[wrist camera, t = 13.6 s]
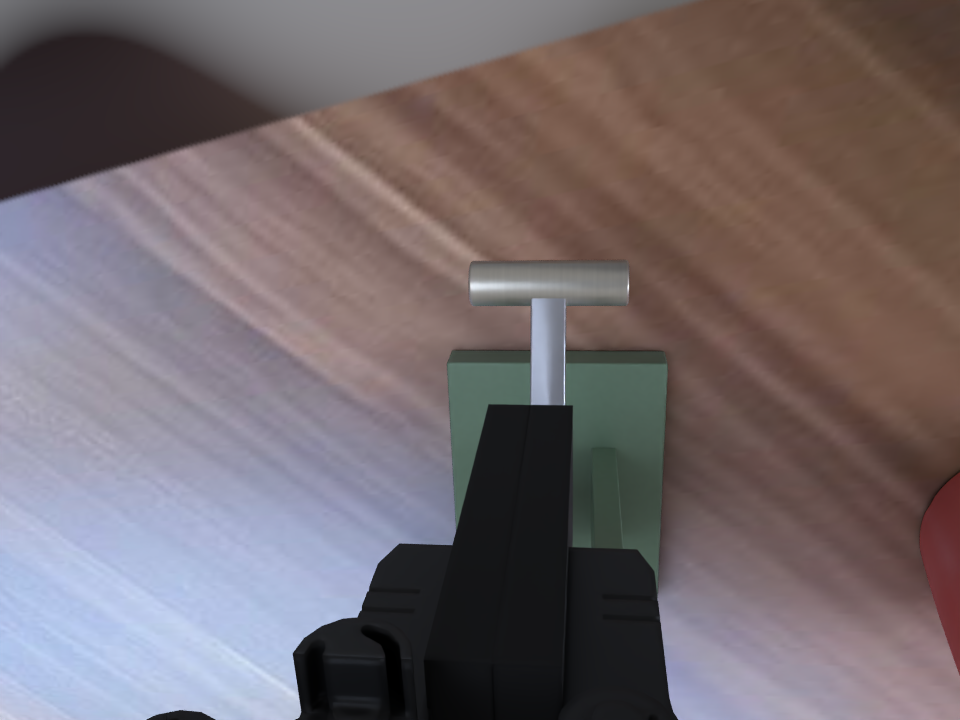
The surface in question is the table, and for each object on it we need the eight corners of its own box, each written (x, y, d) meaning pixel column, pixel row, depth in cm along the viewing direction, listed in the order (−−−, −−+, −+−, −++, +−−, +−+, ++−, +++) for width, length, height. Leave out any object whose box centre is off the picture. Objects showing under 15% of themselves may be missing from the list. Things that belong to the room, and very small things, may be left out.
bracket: (451, 349, 37) (382, 523, 24) (665, 350, 36) (709, 532, 23) (463, 583, 41) (410, 834, 29) (654, 590, 40) (687, 854, 28)
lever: (475, 264, 29) (466, 256, 27) (626, 263, 28) (630, 255, 26) (473, 684, 29) (464, 713, 27) (623, 691, 29) (627, 722, 26)
